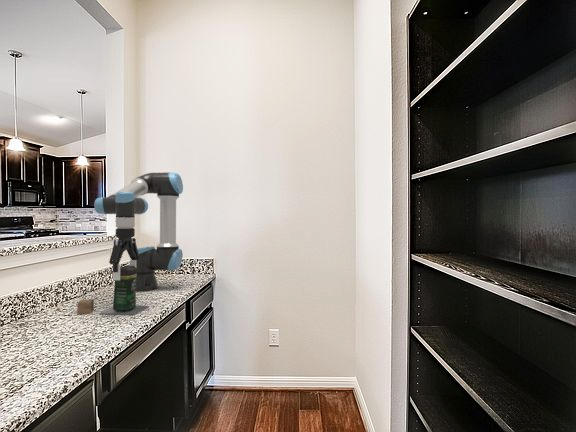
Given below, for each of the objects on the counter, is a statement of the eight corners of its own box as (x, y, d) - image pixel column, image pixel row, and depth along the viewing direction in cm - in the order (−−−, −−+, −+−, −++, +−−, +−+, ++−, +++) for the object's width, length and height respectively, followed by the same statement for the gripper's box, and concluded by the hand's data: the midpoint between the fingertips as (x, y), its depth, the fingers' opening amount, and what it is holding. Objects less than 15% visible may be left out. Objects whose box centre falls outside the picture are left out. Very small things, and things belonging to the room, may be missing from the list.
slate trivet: (116, 306, 163) (116, 305, 163) (148, 307, 162) (148, 306, 162) (99, 314, 150) (99, 313, 150) (134, 315, 149) (134, 313, 149)
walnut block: (80, 311, 155) (80, 299, 155) (93, 310, 157) (93, 299, 157) (77, 314, 150) (77, 302, 150) (90, 313, 152) (90, 301, 152)
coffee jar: (128, 312, 152) (130, 267, 151) (110, 311, 152) (111, 267, 152) (138, 306, 161) (139, 264, 161) (120, 305, 161) (122, 264, 161)
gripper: (131, 226, 169) (131, 272, 169) (99, 228, 144) (99, 282, 144) (147, 226, 169) (146, 272, 169) (118, 228, 144) (117, 282, 144)
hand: (125, 277), depth 156 cm, fingers open, 13 cm apart
